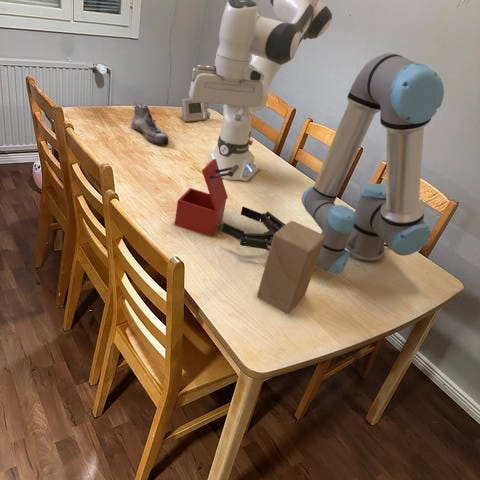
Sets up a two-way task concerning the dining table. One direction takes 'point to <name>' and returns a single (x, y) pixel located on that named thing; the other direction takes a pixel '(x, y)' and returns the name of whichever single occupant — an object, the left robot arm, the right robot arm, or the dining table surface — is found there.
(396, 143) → the right robot arm
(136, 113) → the shoe
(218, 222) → the chest
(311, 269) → the wooden block
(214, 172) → the lid
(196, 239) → the dining table surface
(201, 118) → the digital clock
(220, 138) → the left robot arm
